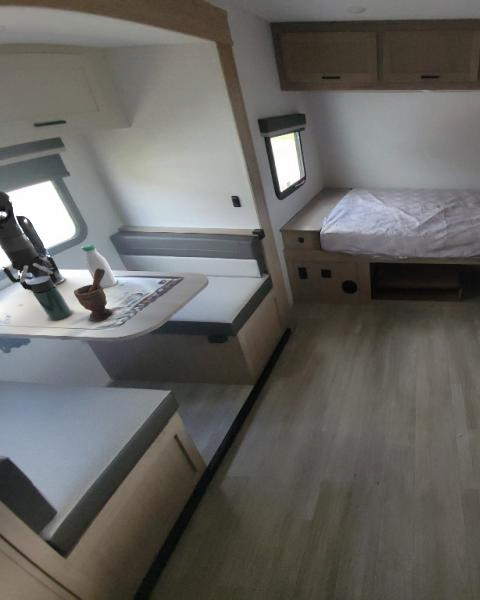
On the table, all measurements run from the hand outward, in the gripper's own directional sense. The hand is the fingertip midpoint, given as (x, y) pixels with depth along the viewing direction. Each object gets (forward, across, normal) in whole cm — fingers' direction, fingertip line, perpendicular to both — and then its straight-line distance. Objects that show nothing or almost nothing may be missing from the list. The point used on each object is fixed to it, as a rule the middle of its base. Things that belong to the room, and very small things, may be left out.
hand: (42, 285), depth 131 cm
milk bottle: (+15, +22, +15) cm, 31 cm away
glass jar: (+15, 0, 0) cm, 15 cm away
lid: (+1, 0, 0) cm, 1 cm away
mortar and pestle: (+15, +11, -14) cm, 23 cm away
